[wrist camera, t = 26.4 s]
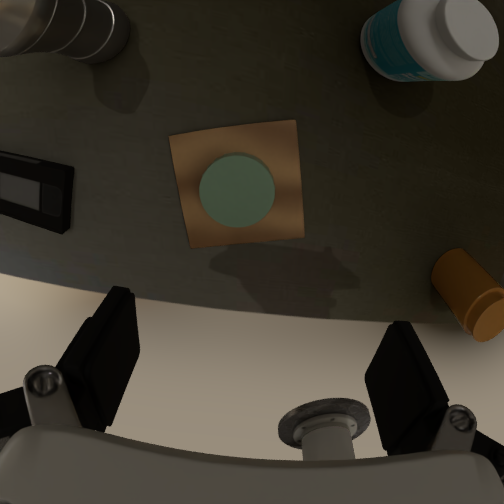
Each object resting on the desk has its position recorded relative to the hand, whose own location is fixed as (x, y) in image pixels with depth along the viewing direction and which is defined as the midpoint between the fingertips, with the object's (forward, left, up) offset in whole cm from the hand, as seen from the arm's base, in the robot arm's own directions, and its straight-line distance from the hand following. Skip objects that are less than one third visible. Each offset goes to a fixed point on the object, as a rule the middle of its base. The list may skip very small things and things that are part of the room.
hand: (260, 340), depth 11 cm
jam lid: (-1, +2, -20) cm, 20 cm away
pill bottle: (+15, -12, -22) cm, 29 cm away
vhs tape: (-1, +28, -22) cm, 36 cm away
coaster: (-1, +2, -22) cm, 22 cm away
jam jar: (-9, -25, -22) cm, 34 cm away
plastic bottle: (+15, +16, -22) cm, 31 cm away
